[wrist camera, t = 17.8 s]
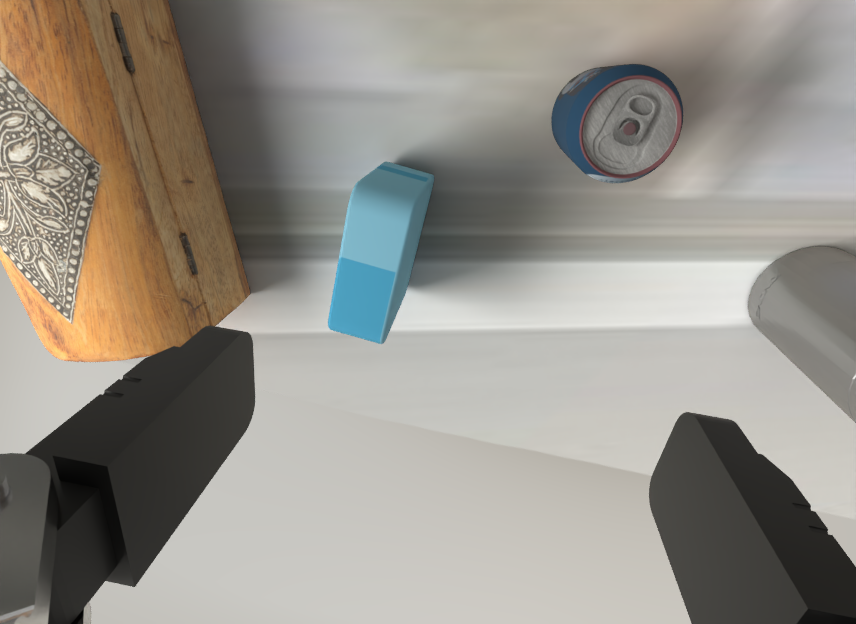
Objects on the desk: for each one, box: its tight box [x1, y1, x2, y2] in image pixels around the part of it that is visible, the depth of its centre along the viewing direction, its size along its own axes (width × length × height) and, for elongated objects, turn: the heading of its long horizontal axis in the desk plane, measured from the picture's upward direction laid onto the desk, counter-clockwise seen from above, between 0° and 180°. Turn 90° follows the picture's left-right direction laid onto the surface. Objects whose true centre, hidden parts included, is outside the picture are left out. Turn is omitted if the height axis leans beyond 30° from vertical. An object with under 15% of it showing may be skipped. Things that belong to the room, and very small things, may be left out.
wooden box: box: [0, 0, 250, 362], centre depth 39 cm, size 30×16×14 cm, turn 5°
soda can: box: [552, 64, 683, 183], centre depth 34 cm, size 7×7×12 cm
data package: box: [328, 162, 434, 344], centre depth 40 cm, size 12×4×12 cm, turn 166°
